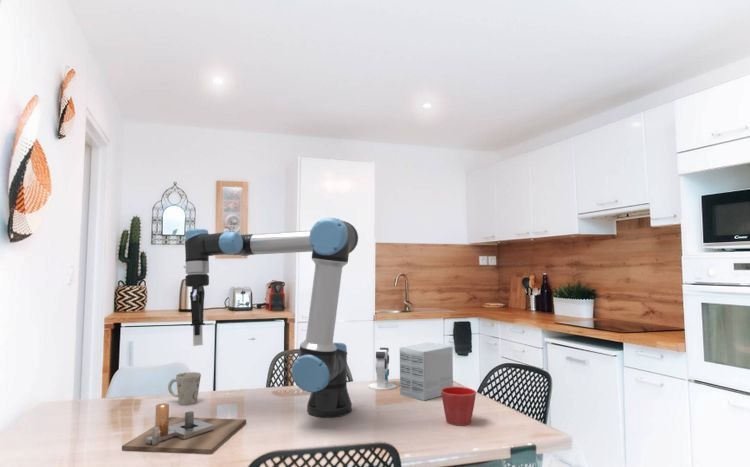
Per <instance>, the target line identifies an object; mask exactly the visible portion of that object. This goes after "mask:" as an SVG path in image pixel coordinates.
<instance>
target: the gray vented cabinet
mask: <svg viewBox="0 0 750 467" xmlns="http://www.w3.org/2000/svg"><path fill="white" fill-rule="evenodd" d="M453 355H454V354H453V346H452V345H447V344H441V343H434V342H424V343H420V344H413V345H407V346H402V347H399V394H400V395H401V396H405V397H408V398H412V399H416V400H419V401H424V402H425V401H427V400H431V399H434V398H439V397H442V394H441V390H442V389H443V388H447V387H454V378H453V377H454V375H453V374H454V367H453V364H454V361H453V360H454V359H453V358H454V357H453Z"/></svg>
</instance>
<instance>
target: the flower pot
mask: <svg viewBox="0 0 750 467" xmlns="http://www.w3.org/2000/svg"><path fill="white" fill-rule="evenodd" d="M441 394H442V396H441V399H442V405H443V410H444V415H445V416H444V417H445V420H446V423H448V424H450V425H455V426H467V425H470V424H471V423H472V418H473V413H474V408H475V403H476V402H475V400H476V395H477V392H476V390H474V389H472V388H468V387H462V386H453V387H447V388H443V389H442V390H441Z"/></svg>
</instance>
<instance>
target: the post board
mask: <svg viewBox="0 0 750 467" xmlns="http://www.w3.org/2000/svg"><path fill="white" fill-rule="evenodd" d="M194 415H195V412H194V411H190V410H189V411H186V412H184V417H183V416H182V417H181V416H180V417H179V416H177V417H176V416H175V417H174V416H169V426H171V425H175V424H178V423H181V422H185V429H191V428H194V419H196V420H200V421H203V422H206V423H209V424H213V425H214V430H210V431H207V432H204V433H201V434H198V435H195V436H192V437H189V438H186V439H182V438H179V437H176V436H175V437H172V438H169V439H166V440H162V441H159V427H155V426H153V427H152V428H150V429H148V430H146V431H145V432H143V433H141V434H139V435H137V436H135V437H134V438H133V439H131V440H130V441H127V442H126V443H124V444H123V445H121V451H124V452H125V451H126V452H128V451H129V452H151V453H175V454H176V453H177V454H179V453H180V454H195V455H196V454H200V455H212V454H213V453H214V452H216V451H217V450H218V449H219V448H220V447H221V446H223V445H224V444H225V442H227V441H228V440H230V439H231V437H232V436H234V435H235V434H236V433H237V432H239V431H240V429H242V428H243V427H244V426H245V425H246V424H247V419H244V418H243V419H241V418H239V419H238V418H210V417H195V416H194ZM150 436H152V444H148V443H146V442H145V438H147V437H150Z"/></svg>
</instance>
